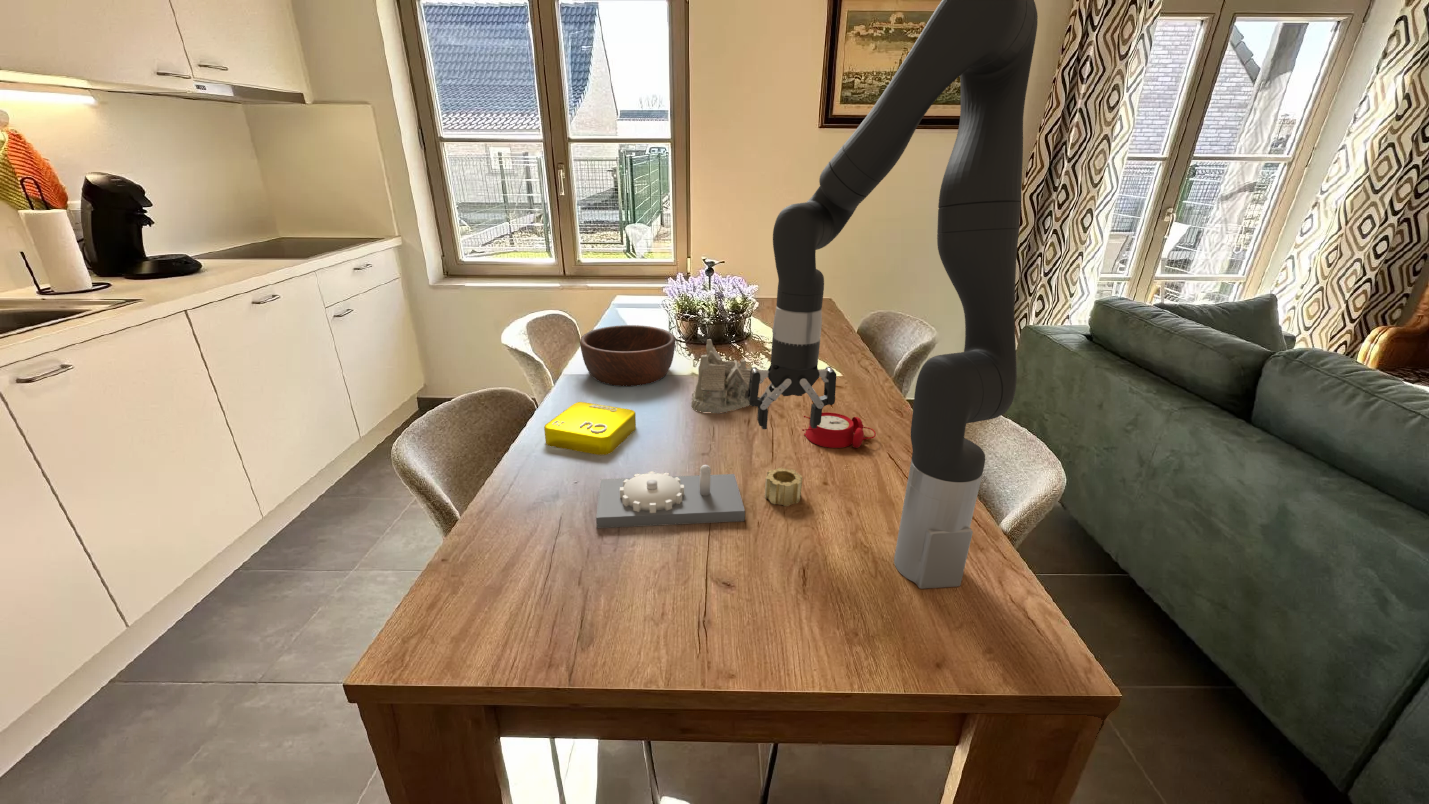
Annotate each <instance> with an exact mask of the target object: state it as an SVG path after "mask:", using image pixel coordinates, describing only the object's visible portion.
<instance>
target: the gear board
mask: <svg viewBox="0 0 1429 804" xmlns="http://www.w3.org/2000/svg"><path fill="white" fill-rule="evenodd" d="M737 481H738V480H737V478H736V475H735V473H729V474H728V473H724V474H723V473H722V474H711V467H710V465H708V464H703V465H701V467H700V468H699V475H674V476H672V475H670V473H668V472H663V473H659V472H658V473H657V472H655V471H648V472H647V473H644V474H640V473H638V472H637V473H636V474H633V477H621V478H620V477H619V478H601V479H600V483H599V489H598V490H599V492H598V498H597V506H596V517H595V518H596V519H595V520H596V529H606V528H629V527H649V526H651V527H652V526H668V525H671V526H672V525H673V526H674V525H688V524H690V525H691V524H709V523H710V524H713V523H732V522H735V523H736V522H745V518H746V517H745V514H746V509H745V507H744V503H743V499H742V496H741V493H740V489H739V485H738V482H737Z"/></svg>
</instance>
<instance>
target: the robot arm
mask: <svg viewBox="0 0 1429 804" xmlns="http://www.w3.org/2000/svg"><path fill="white" fill-rule="evenodd" d="M1037 30H1038V10H1037V5H1036V1H1035V0H941V1H940V2H939V4H938V5H937V6H936V8H935V10H934V12H933V13H932V14H931V16H930V18H929V20H928V21H927V23H926V24H925V26H924V28H923V29H922V31H921V33H920V35H919V36H918V37H917V39H916V40H915V42H914V44H913V45H912V47H911V48H910V50H909V52H908V53H907V55H906V56H905V58H904V60H903V61H902V63H901V64H900V66H899V67H898V69H897V70H896V72H895V74H894V76H893V77H892V79H891V80H890V82H889V83H888V84H887V86H886V87H885V89H884V91H883V92H882V94H881V95H880V97H879V98H878V100H876V103H875V104H874V105H873V107H872V108H871V109H870V111H869V113H867V114H866V116H865V118H864V119H863V120H862V122H860V124H859V125H858V126H857V128H856V129H855V130H854V131H853V133H852V134H851V135H850V136H849V137H848V139H847V140H846V141H845V142H844V144H842V146H841V147H840V148H839V149H838V151H837V152H836V153H835V154H834V155H833V157H832V158H831V159H830V161H828V163H827V164H826V165H825V167H824V168H823V170H822V171H821V173H820V175H819V179H818V180H819V181H818V182H819V186H818V188H817V189H816V191H815V192H814V193H813V195H812V196H811V197H810V198H809V199H807V201H806V202H805V201H804V202H799V203H792V204H789V205H787V206H786V207H784V208H782V210H781V211H780V212H779V213H778V215H777V217H776V219H775V222H774V225H773V230H772V248H773V255H774V261H775V269H776V272H777V278H778V283H777V293H776V306H775V312H774V318H773V326H772V330H771V331H772V340H771V353H770V355H771V357H770V364H769V365H770V366H769V367H768V369H758V367H756V366H753V367H752V368H751V372H750V380H749V388H748V397H747V398H748V401H749V403H750V406H751V407H756V408H757V414H756V415H757V416H756V417H757V418H756V420H757V422H758V426H759V427H761V430H767V429H768V418H769V409H768V408H769V406H771V405H772V403H773V402H775V401H777V399H778V398H779V397H780V396H781V395H782V396H783V397H791V396H797V397H802V396H803V395H805V394H807V396H808V397H809V398H810V399H811V401H812V403H811V406H810V416H809V417H810V419H809V423H810V425H811V427H812V428H817V425H820V423H821V416H822V413H823V408H825V407H826V406H828V405H829V406H833V405H835V402H836V391H837V390H836V388H837V373H836V372H835V370H834V368H832V367H831V366H826V367H825V368H821V369H818V364H819V357H820V356H819V354H820V347H821V346H820V345H821V334H822V326H823V325H822V324H823V316H822V312H823V309H822V308H823V301H824V292H825V291H824V290H825V277H824V274H823V272H822V271H821V270H820V269H817V261H816V252H817V250H820V249H823V248H826V247H827V246H828V245H829V244H830V243H831V242H833V241H834V240H835V238H837V236H838V235H839V234H840V233H841V232H842V230H843V229H844V228H845V226H846V225H847V223H848V222H849V221H850V219H851V217H852V216H853V215H854V213H855V211H856V210H857V207H858V206H859V205H860V204H861V203H862V202H863V201H864V200H865V199H866V198H867V197H868V196H869V195H870V194H871V193H872V192H873V191H874V190H875V189H876V187H877V186H878V185H879V184H880V183H881V182H882V181H883V180H884V179H885V178H886V177H887V175H888V174H889V173H890V172H891V171H892V169H893V168H894V167H895V165H896V164H898V162H899V160H900V159H901V157H902V155H903V154H904V152H905V150H906V148H907V147H908V145H909V143H910V141H911V140H912V137H913V135H914V133H915V132H916V129H917V127H918V126H919V124H920V123H921V121H922V119H923V118H924V116H925V115H926V114H927V112H928V111H929V109H930V108H931V107H932V106H933V104H934V103H935V102H936V100H937V99H938V98H939V97H940V96H941V95H942V93H943V92H944V91H945V90H946V89H948V87H949V86H950V85H951V84H952V83H954V81H956V80H957V79H958V78H959V79H960V81H959V82H960V83H959V84H960V115H959V124H958V129H957V134H956V137H955V141H954V144H953V147H952V149H951V153H950V156H949V159H948V162H947V165H946V168H945V170H944V174H943V178H942V182H941V185H940V191H939V197H938V204H937V205H938V206H937V207H938V209H937V210H938V211H937V231H936V232H937V235H936V236H937V237H936V239H937V250H938V255H939V258H940V260H941V261H940V262H941V263H942V266H943V267H944V270H945V273H946V274H947V276H948V278H949V280H950V282H951V284H952V285H953V287H954V289H955V291H956V294H957V295H958V297H959V300H960V302H961V306H962V308H963V313H964V314H963V316H964V323H965V329H964V330H965V331H964V334H965V335H964V349H963V351H962V352H961V351H960V352H953V353H951V352H950V353H945V354H937V355H933V356H931V357H930V358H929V359H927V360H926V361H925V362H924V363H923V365H922V366H921V369H920V370H919V372H918V376H917V379H916V382H915V389H914V396H913V397H914V398H913V407H912V415H911V424H910V426H911V427H910V441H911V447H912V448H911V449H912V453H911V460H910V466H909V472H908V477H907V482H906V488H905V492H904V494H905V495H904V500H903V506H902V511H901V518H900V522H899V527H898V533H897V540H896V546H895V552H894V558H893V563H894V565H895V568H896V570H897V571H898V572H899V573H900V574H901V575H902V577H905V578H906V579H907V580H909V581H911V582H913V583H914V584H916V586H917V587H918V588H919V589H921V590H922V589H937V588H950V587H951V588H952V587H954V588H955V587H960V586H961V584H962V581H963V576H964V570H965V567H966V563H967V559H968V555H969V550H970V547H971V541H972V536H973V534H974V533H973V530H972V529H971V524H972V520H973V516H974V511H975V506H976V503H977V498H978V494H979V490H980V487H981V481H982V478H983V473H984V468H985V464H986V455H985V452H984V450H983V448H981V447H980V446H979V445H978V444H976V443H975V442H974V441H971V440H969V439H967V438H965V434H966V427H967V424H971V423H978V422H983V421H989V420H994V419H997V418H999V417H1001V416H1003V415H1005V413H1006V412H1007V411H1009V409H1010V407H1011V406H1012V405H1013V401H1014V400H1015V396H1016V390H1017V377H1018V376H1017V373H1018V372H1017V371H1018V370H1017V369H1018V368H1017V347H1016V345H1017V344H1016V326H1015V325H1016V324H1015V303H1016V302H1015V301H1016V298H1015V297H1016V275H1017V254H1018V253H1017V252H1018V247H1019V246H1018V244H1019V235H1020V224H1021V223H1020V221H1021V208H1022V180H1023V162H1024V161H1023V159H1024V113H1025V103H1026V97H1027V90H1028V85H1029V78H1030V72H1031V68H1032V61H1033V55H1034V50H1035V44H1036V40H1037V39H1036V38H1037ZM766 378H768V380H769V382H770V383H769V384H768V386H767V387H766V388H765V390H764V392H763V393H762V394H761V396H759V390H760V384H763V383H764V382H765V381H764V380H765V379H766ZM820 378H821V380H822V382H823V383H824V388H823V395H821V396H819V395H818V393H817V392H816V391H815V389H814V387H813V386H814V384H815V383H816V382H817V381H818V379H820Z"/></svg>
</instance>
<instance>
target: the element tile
mask: <svg viewBox="0 0 1429 804" xmlns="http://www.w3.org/2000/svg"><path fill="white" fill-rule="evenodd" d="M636 417H637V416H636V411H635V410H633V409H631V408H630V409H629V408H623V407H616V406H611V405H605V404H597V403H591V402H584V401H577V402H575V403H573V404H571V405H570V406H568V407H567V408H566V409H565V410H563V411H562V412H561V413H559V414H558V415H557V416H555V417H554V418H553V419H551V420H550V421H548V422H547V423H546V424H544V427H543V430H544V440H545V441H544V442H545V444H546V446H548V447H552V448H557V449H562V450H564V449H565V450H569V451H573V452H574V451H576V452H579V453H580V452H581V453H586V454H591V455H597V456H607V455H610V454H612V453H614V451H615V450H617V448H619V446H620V445H621V444H622V443H624V442H625V441H626V440H627V439H628V438H629V437H630V436H631V435H632V434H633V432H635V431H636V429H637V424H636V423H637V422H636V421H637V420H636Z"/></svg>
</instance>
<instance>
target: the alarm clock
mask: <svg viewBox="0 0 1429 804" xmlns="http://www.w3.org/2000/svg"><path fill="white" fill-rule="evenodd" d="M803 418H806V419H809V420H810V416H806V415H803ZM863 429H868V430H870V431H873V433H874V435H873V436H869V437H868V436H867V437H865V432H864V430H863ZM801 430H802V431H801V432H803V436H805V437H806V439H807V440H808V441H810V442H811V443H812V444H814V445H816V446H820V447H823V448H830V449H841V448H846V447H849V446H852V448H855V449H858V448H860V447H861V446H862V444H863V442H864V441H866V439H867V440H869V439H874V438H875V437H876V435H877V433H876V431H875V429H873V428H871V427H867V426H864V425H863V421H862V419H861V418H860V417H858V416H853V417H852V418H850V417H848V416H847V415H843V414H841V413H838V412H837V413H836V412H826V411H824V412H822V416H821V423H820V425H817V428H812V427H811V425H810V422H809V425H808V428H806V429H801ZM804 432H805V433H804Z"/></svg>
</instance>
